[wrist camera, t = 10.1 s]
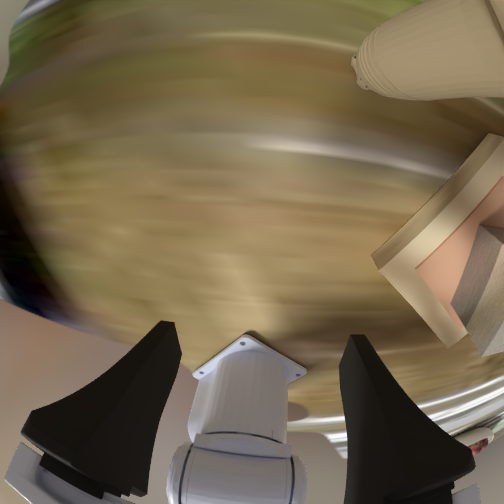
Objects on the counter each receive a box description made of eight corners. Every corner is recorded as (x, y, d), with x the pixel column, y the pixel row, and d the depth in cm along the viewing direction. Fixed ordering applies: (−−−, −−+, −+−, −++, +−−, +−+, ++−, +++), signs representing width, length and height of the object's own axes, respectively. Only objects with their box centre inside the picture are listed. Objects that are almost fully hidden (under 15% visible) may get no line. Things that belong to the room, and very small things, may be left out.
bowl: (450, 456, 51) (454, 474, 44) (377, 475, 52) (379, 496, 45) (507, 411, 36) (515, 432, 29) (434, 437, 37) (440, 466, 31)
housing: (512, 228, 14) (557, 269, 8) (484, 301, 17) (515, 347, 12) (478, 223, 14) (528, 268, 9) (450, 303, 17) (481, 357, 12)
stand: (441, 335, 22) (448, 350, 20) (371, 255, 19) (379, 272, 17) (530, 246, 16) (542, 257, 14) (488, 132, 13) (506, 138, 11)
